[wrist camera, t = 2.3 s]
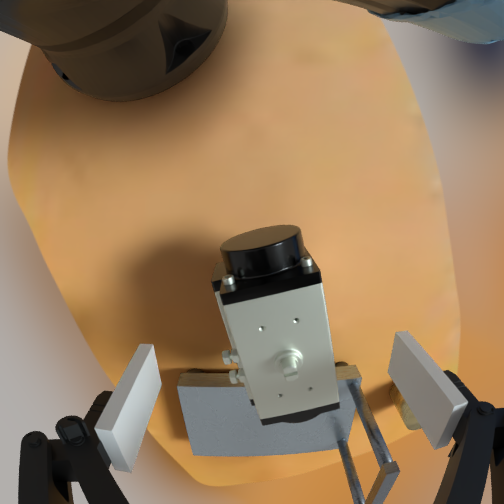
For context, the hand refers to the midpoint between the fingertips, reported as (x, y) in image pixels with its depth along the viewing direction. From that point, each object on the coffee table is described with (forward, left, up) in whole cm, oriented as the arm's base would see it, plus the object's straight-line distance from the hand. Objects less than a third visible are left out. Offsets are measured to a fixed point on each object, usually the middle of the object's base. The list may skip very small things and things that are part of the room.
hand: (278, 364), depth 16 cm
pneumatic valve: (0, 0, -11) cm, 11 cm away
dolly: (+13, 0, -10) cm, 16 cm away
